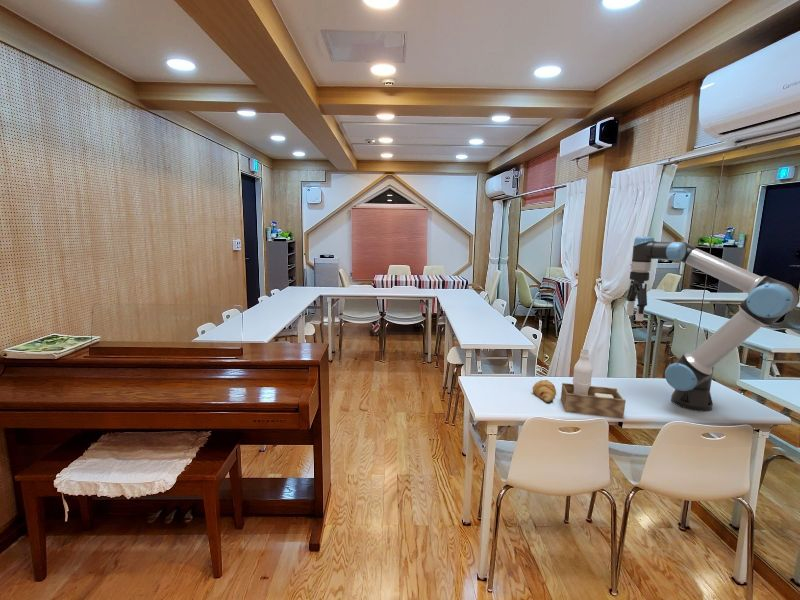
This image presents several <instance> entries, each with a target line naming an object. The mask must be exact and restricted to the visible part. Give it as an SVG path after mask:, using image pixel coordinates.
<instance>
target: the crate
mask: <svg viewBox="0 0 800 600" xmlns="http://www.w3.org/2000/svg"><path fill="white" fill-rule="evenodd" d="M573 393H574V384H573V383H567V382H566V383H565V382H562V384H561V393H560V402H561V404H562V407H563V410H564V412H565V413H573V414H583V415H589V416H590V415H591V416H598V417H599V416H600V417H605V418H606V417H608V418H614V419H615V418H616V419H622V420H623V419H624V418H625V417H624V416H625V407H626V398H625V399H624V398H623V397H622V396H621V394H620V392H618V388H614V387H605V386H595V385H591V386H590V387H589V389H588V395H579V394H573ZM595 393H601V394H611V395H612V396H613V397H614V398H606V397H597V396H594V394H595Z"/></svg>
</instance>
